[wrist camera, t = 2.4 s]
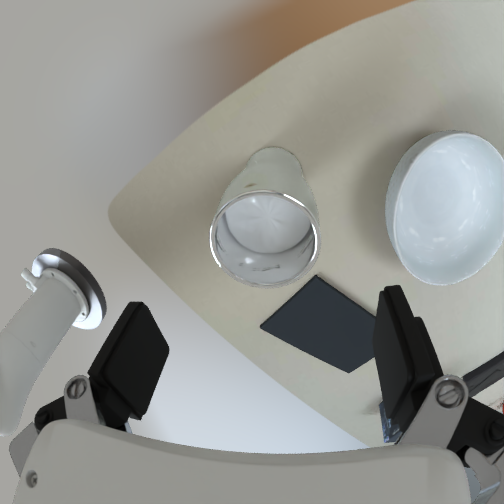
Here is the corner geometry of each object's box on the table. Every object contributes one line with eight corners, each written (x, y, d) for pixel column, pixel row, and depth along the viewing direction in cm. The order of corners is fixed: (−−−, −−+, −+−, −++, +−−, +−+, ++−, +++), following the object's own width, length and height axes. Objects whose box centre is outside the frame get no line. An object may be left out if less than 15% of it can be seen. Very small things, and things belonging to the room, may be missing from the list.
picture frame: (462, 395, 51) (512, 364, 44) (464, 401, 49) (514, 370, 42) (462, 376, 46) (518, 340, 39) (465, 383, 44) (522, 347, 37)
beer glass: (311, 149, 27) (338, 199, 14) (299, 209, 31) (309, 298, 18) (245, 138, 27) (208, 177, 14) (237, 199, 31) (203, 281, 18)
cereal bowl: (493, 212, 27) (522, 237, 21) (405, 274, 33) (423, 309, 27) (453, 99, 21) (490, 105, 15) (344, 170, 28) (361, 192, 22)
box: (395, 387, 48) (404, 429, 39) (414, 387, 48) (424, 427, 39) (377, 404, 52) (383, 443, 43) (397, 404, 52) (403, 441, 43)
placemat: (260, 325, 41) (259, 328, 40) (315, 274, 35) (316, 277, 34) (348, 371, 45) (348, 373, 45) (400, 334, 39) (401, 337, 39)
